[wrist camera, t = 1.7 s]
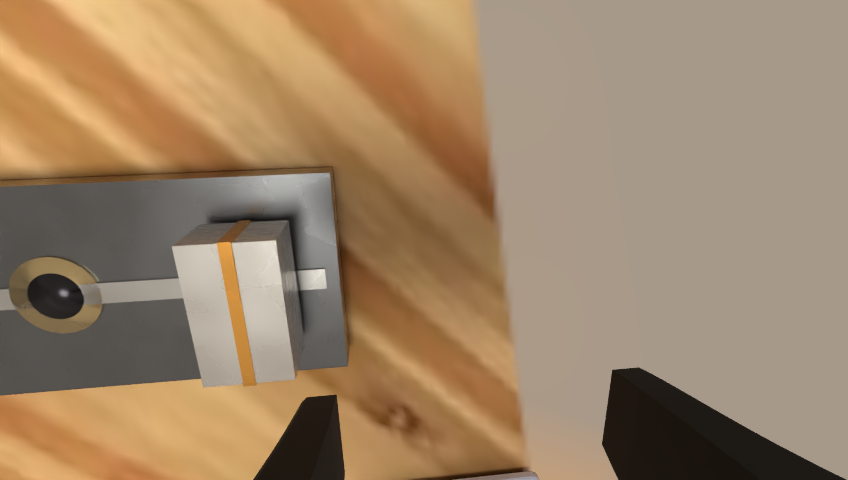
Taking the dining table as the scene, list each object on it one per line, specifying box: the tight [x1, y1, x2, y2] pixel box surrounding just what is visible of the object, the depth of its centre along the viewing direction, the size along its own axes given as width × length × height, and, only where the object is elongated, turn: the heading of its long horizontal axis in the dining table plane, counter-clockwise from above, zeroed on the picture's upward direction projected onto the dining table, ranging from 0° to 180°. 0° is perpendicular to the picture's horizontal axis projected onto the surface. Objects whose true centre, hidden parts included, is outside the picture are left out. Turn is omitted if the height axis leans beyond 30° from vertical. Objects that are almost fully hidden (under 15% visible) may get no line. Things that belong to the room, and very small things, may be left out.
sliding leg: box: [172, 220, 305, 387], centre depth 15 cm, size 5×3×2 cm, turn 1°
